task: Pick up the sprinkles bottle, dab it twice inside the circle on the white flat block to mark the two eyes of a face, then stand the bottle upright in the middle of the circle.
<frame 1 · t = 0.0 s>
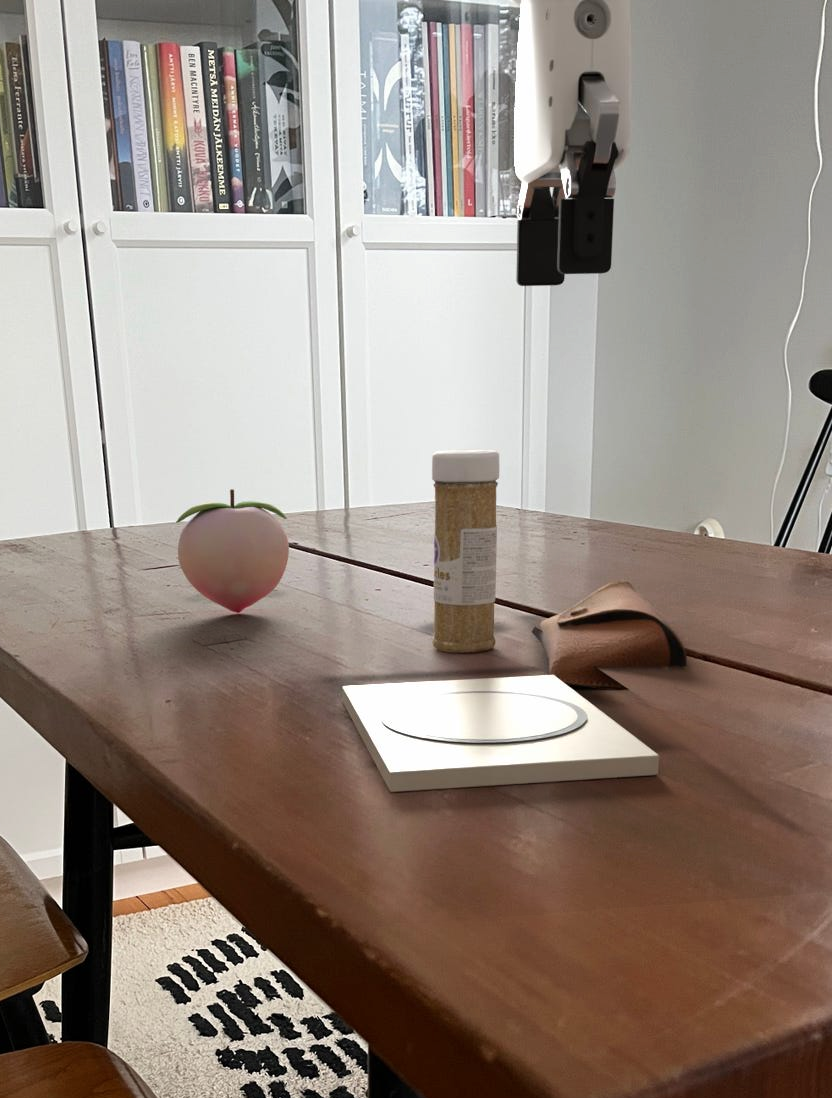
hand: (560, 279, 81), 24 cm above the table, tool pointing down, fingers open, 9 cm apart
sprinkles bottle: (464, 651, 90), on the table
sunglasses case: (599, 662, 85), on the table
decorative fruit: (240, 615, 106), on the table
white flat block: (482, 734, 68), on the table
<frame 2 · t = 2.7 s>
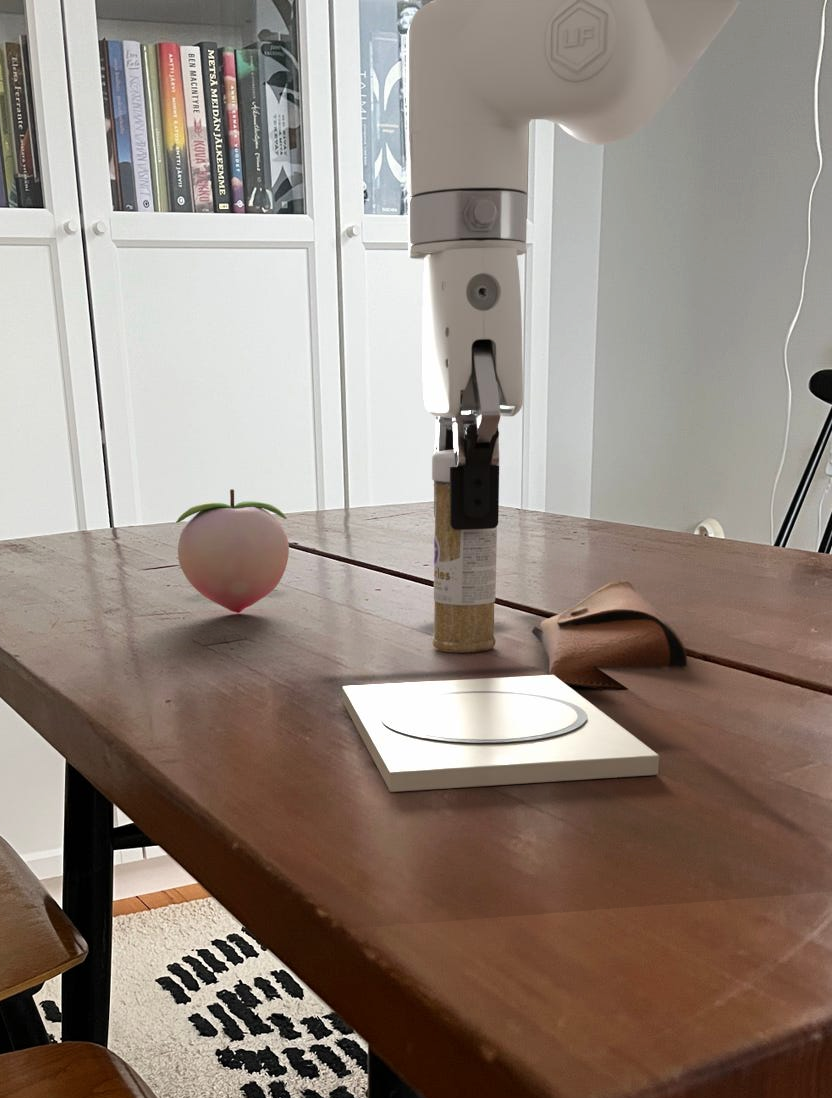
hand: (465, 521, 87), 9 cm above the table, tool pointing down, fingers closed on sprinkles bottle, 4 cm apart
sprinkles bottle: (464, 650, 90), on the table, touching gripper
everything else where it was.
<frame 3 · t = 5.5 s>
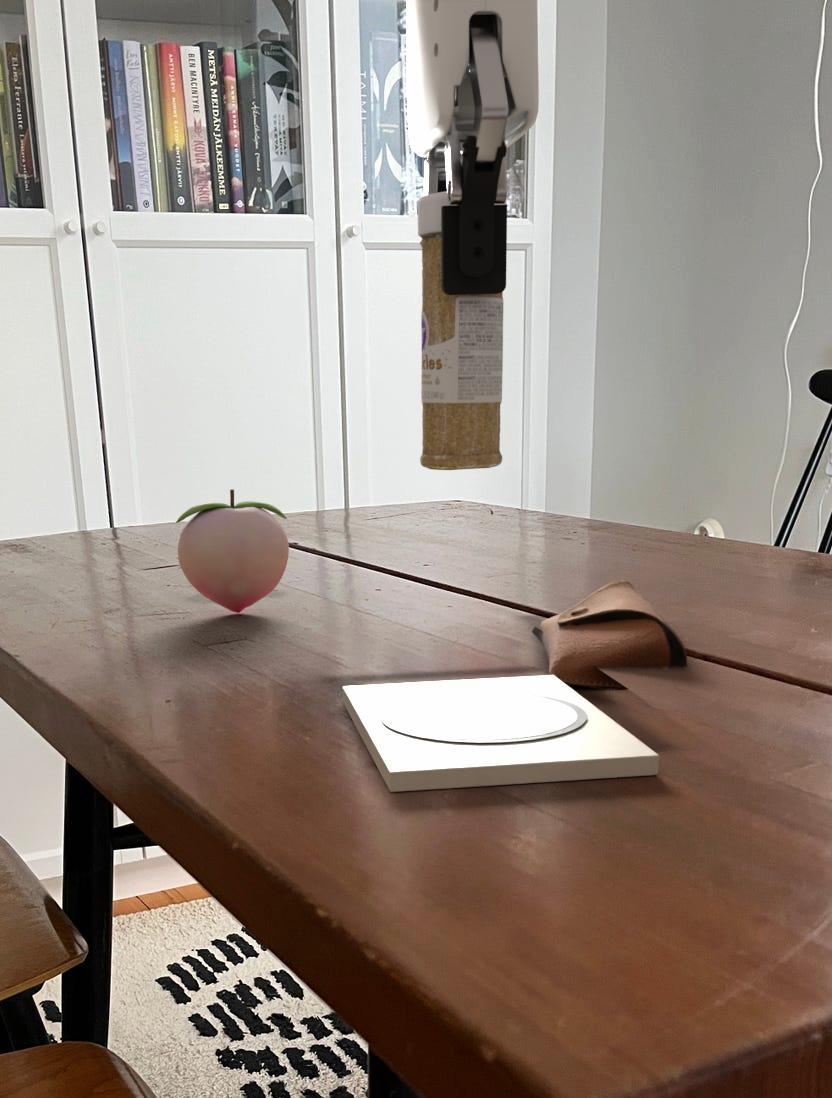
hand: (462, 293, 66), 22 cm above the table, tool pointing down, fingers closed on sprinkles bottle, 4 cm apart
sprinkles bottle: (461, 471, 69), point 13 cm above the table, touching gripper
everything else where it was.
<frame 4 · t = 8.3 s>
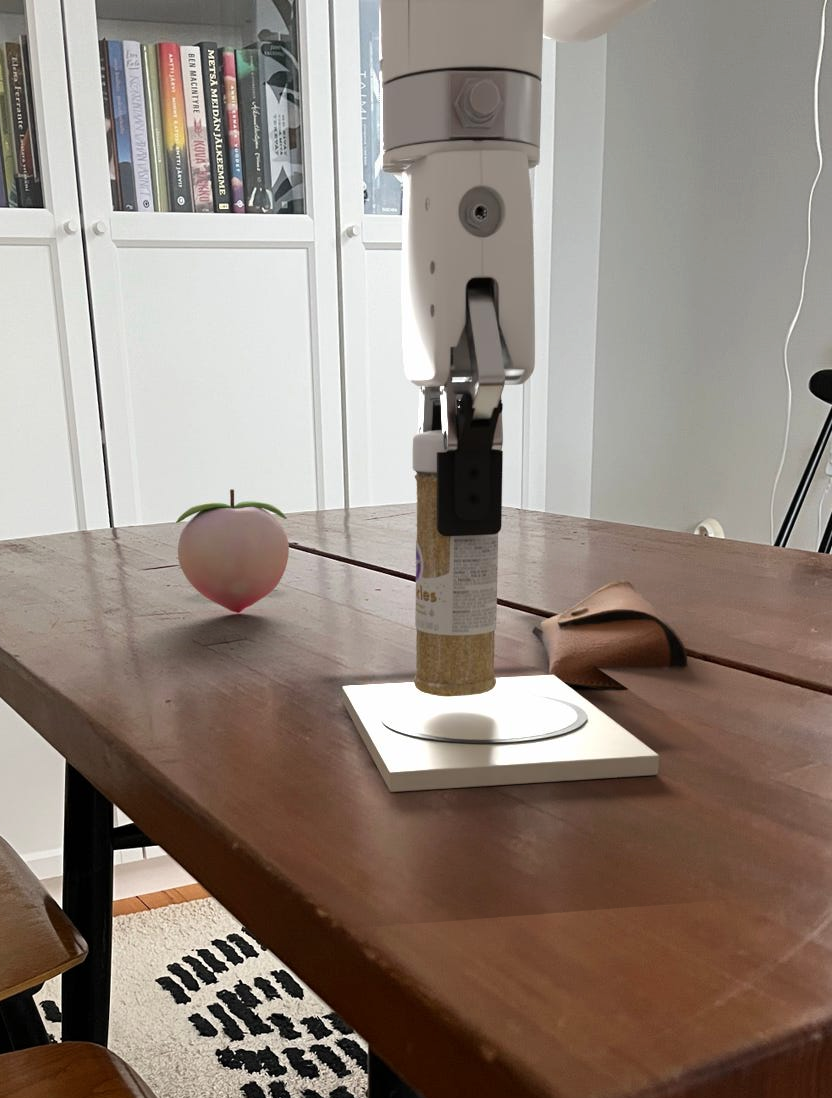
hand: (457, 525, 66), 11 cm above the table, tool pointing down, fingers closed on sprinkles bottle, 4 cm apart
sprinkles bottle: (455, 693, 69), point 2 cm above the table, touching gripper
everything else where it was.
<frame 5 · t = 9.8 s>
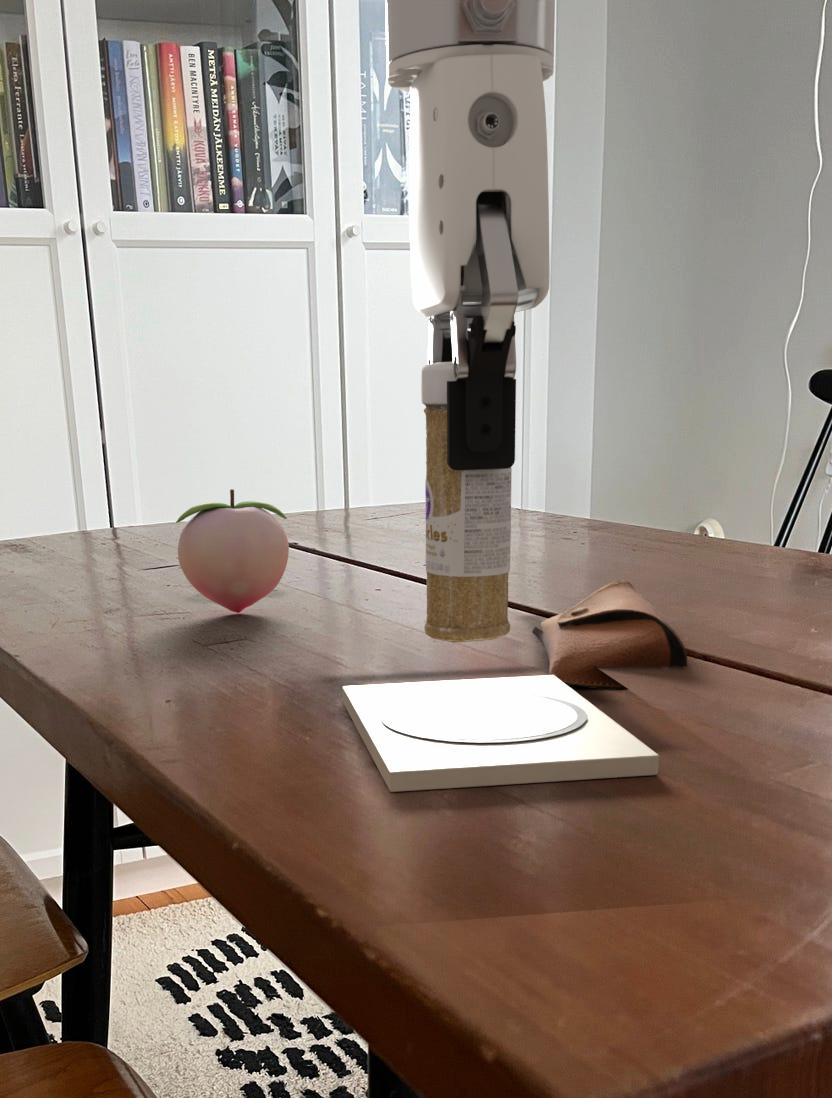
hand: (469, 461, 63), 14 cm above the table, tool pointing down, fingers closed on sprinkles bottle, 4 cm apart
sprinkles bottle: (468, 639, 66), point 5 cm above the table, touching gripper
everything else where it was.
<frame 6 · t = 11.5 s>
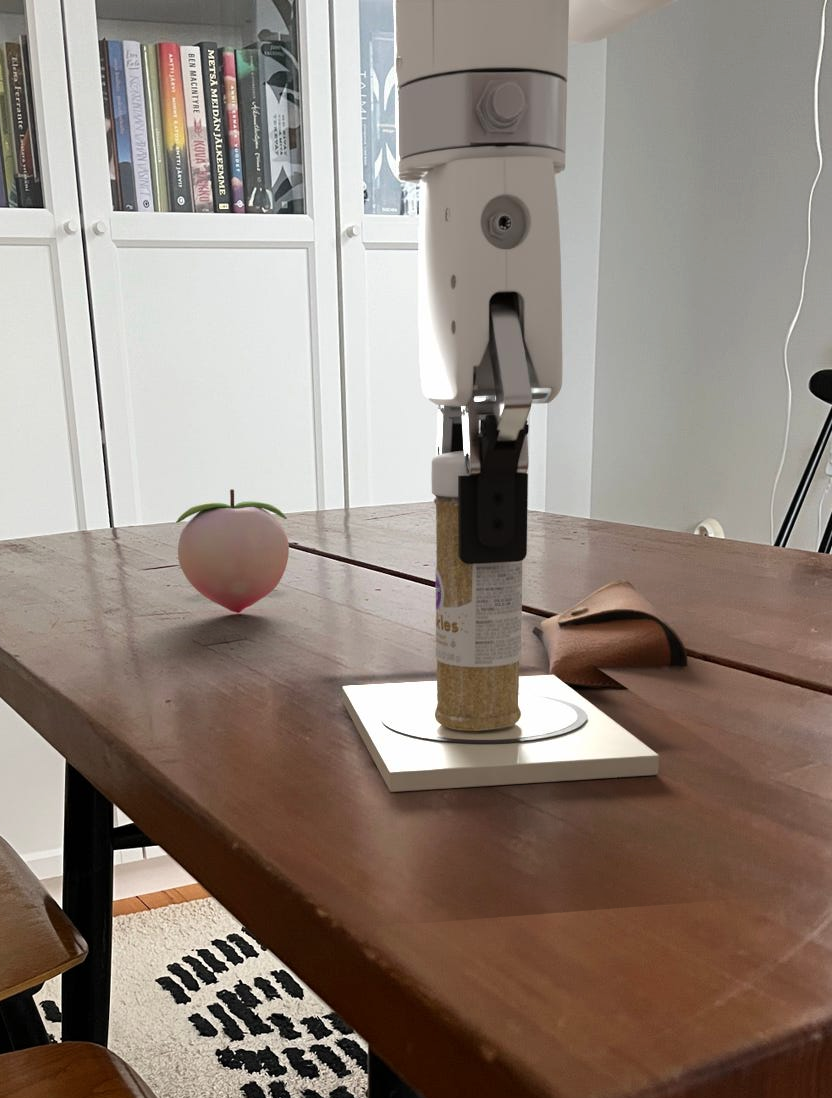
hand: (479, 550, 62), 10 cm above the table, tool pointing down, fingers closed on sprinkles bottle, 4 cm apart
sprinkles bottle: (478, 726, 66), point 1 cm above the table, touching gripper
everything else where it was.
when the fingers open (10 cm above the table, at t = 13.9 s): sprinkles bottle stays where it is, resting on white flat block.
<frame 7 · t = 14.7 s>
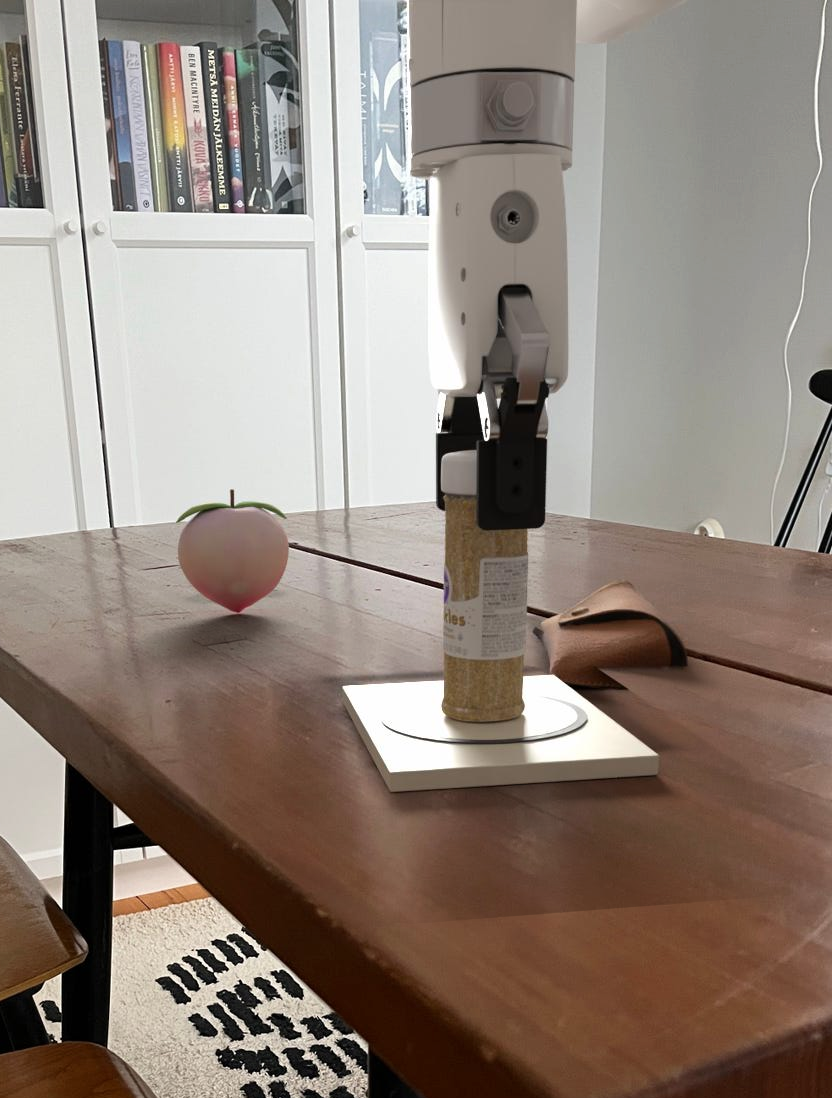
hand: (486, 518, 64), 11 cm above the table, tool pointing down, fingers open, 9 cm apart
sprinkles bottle: (483, 717, 68), point 1 cm above the table, touching white flat block
everything else where it was.
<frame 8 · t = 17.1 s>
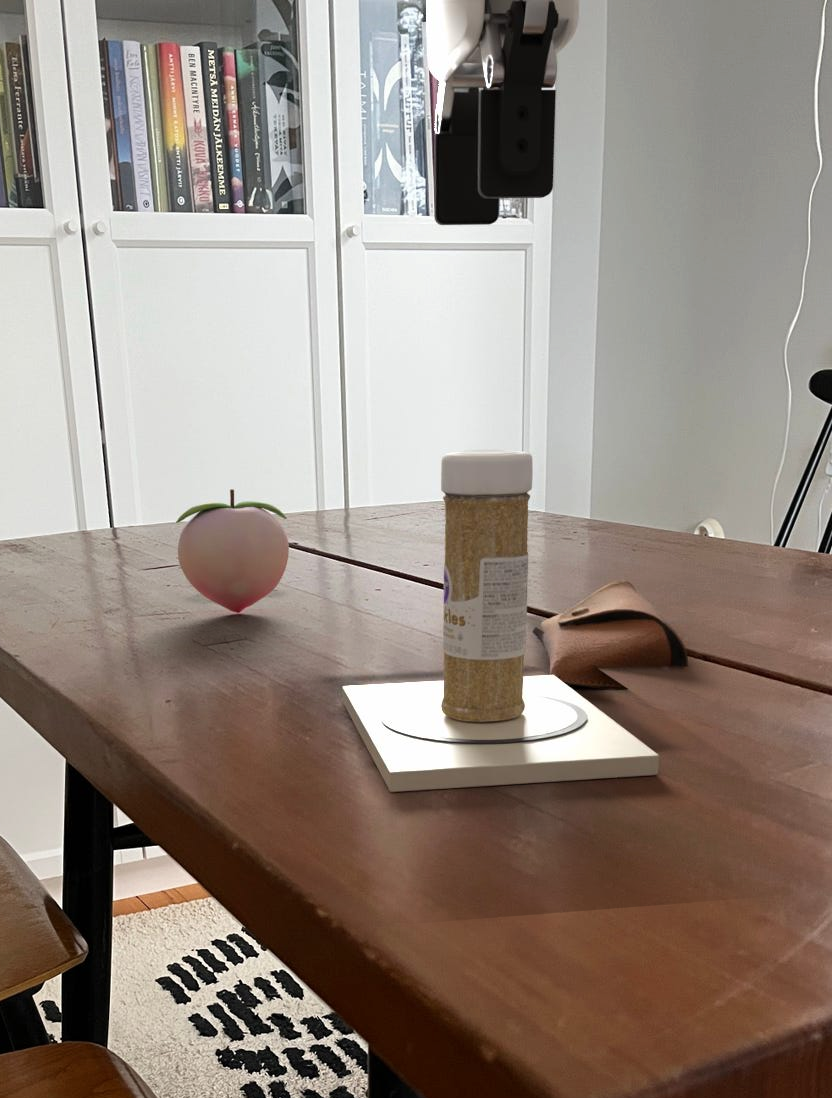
hand: (488, 211, 59), 25 cm above the table, tool pointing down, fingers open, 9 cm apart
nothing on the table moved.
at the end: sprinkles bottle 0.0 cm off-centre on the white flat block, point 0.9 cm above the white flat block's base; sprinkles bottle tilted 0°; sprinkles bottle moved 23.3 cm from its start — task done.
